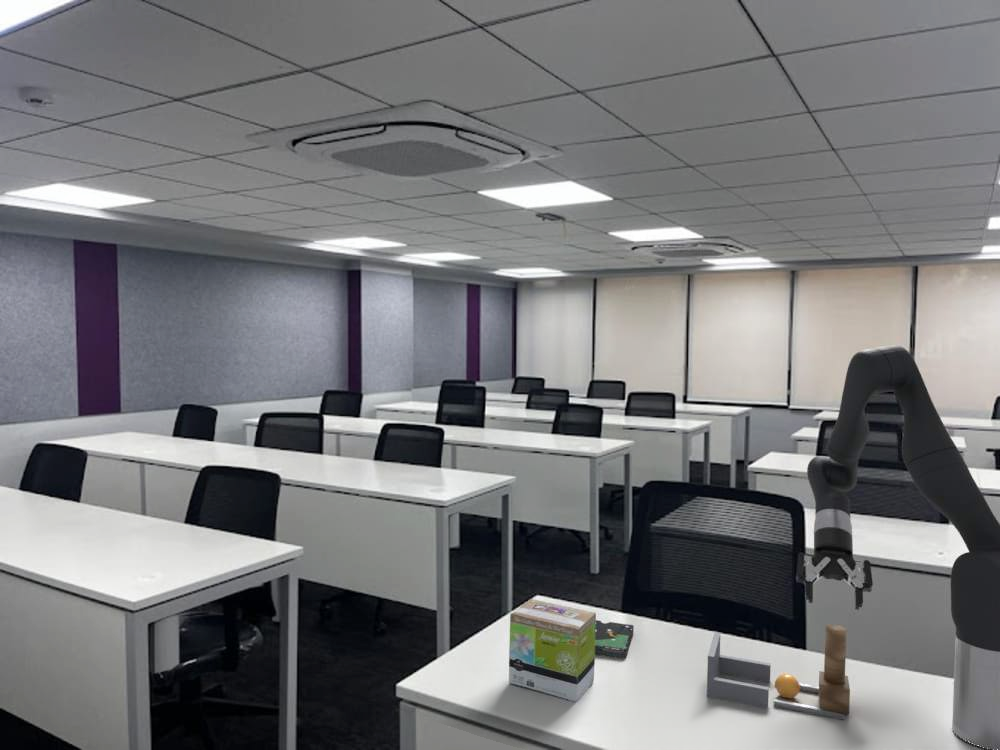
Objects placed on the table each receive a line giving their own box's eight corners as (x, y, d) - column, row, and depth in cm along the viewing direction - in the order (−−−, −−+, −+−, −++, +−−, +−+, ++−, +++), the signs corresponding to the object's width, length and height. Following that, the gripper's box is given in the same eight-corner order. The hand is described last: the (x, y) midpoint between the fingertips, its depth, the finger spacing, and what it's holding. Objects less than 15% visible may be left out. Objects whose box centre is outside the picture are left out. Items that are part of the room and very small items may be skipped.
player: (846, 699, 136) (849, 625, 135) (849, 714, 130) (851, 636, 130) (818, 694, 138) (821, 620, 137) (819, 708, 132) (822, 631, 132)
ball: (791, 691, 140) (792, 669, 140) (803, 702, 136) (804, 679, 135) (770, 692, 139) (771, 670, 139) (782, 703, 135) (783, 680, 135)
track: (840, 695, 138) (840, 690, 138) (843, 720, 129) (844, 714, 129) (775, 683, 143) (775, 678, 143) (773, 706, 134) (773, 701, 134)
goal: (770, 680, 144) (771, 641, 144) (767, 708, 133) (769, 666, 133) (713, 669, 149) (714, 632, 148) (706, 696, 137) (707, 655, 137)
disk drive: (590, 630, 170) (579, 654, 156) (590, 619, 170) (580, 642, 156) (633, 636, 167) (626, 661, 153) (633, 624, 167) (627, 648, 153)
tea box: (507, 685, 141) (508, 612, 140) (528, 665, 149) (529, 597, 149) (577, 704, 134) (578, 627, 133) (595, 682, 142) (597, 610, 142)
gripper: (797, 522, 153) (796, 590, 143) (871, 529, 147) (875, 601, 137) (797, 540, 158) (795, 607, 148) (868, 548, 152) (871, 618, 142)
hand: (833, 604), depth 142 cm, fingers open, 8 cm apart
